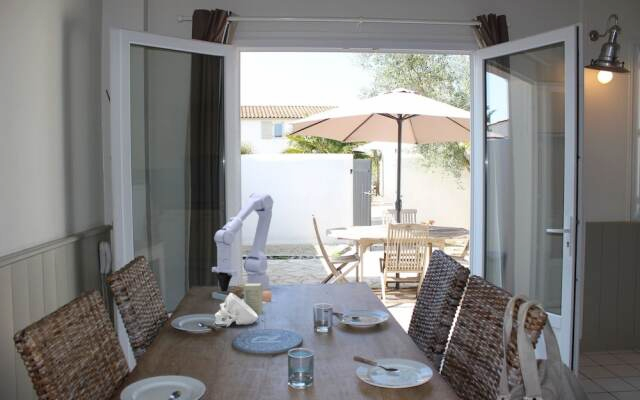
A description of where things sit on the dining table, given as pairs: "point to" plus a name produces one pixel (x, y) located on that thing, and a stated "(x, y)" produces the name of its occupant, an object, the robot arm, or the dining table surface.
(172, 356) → the dining table surface
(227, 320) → the skull bowl
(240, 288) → the beech block
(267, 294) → the peach rounded cylinder
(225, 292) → the slate board with cubby
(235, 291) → the walnut block
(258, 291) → the skincare box
